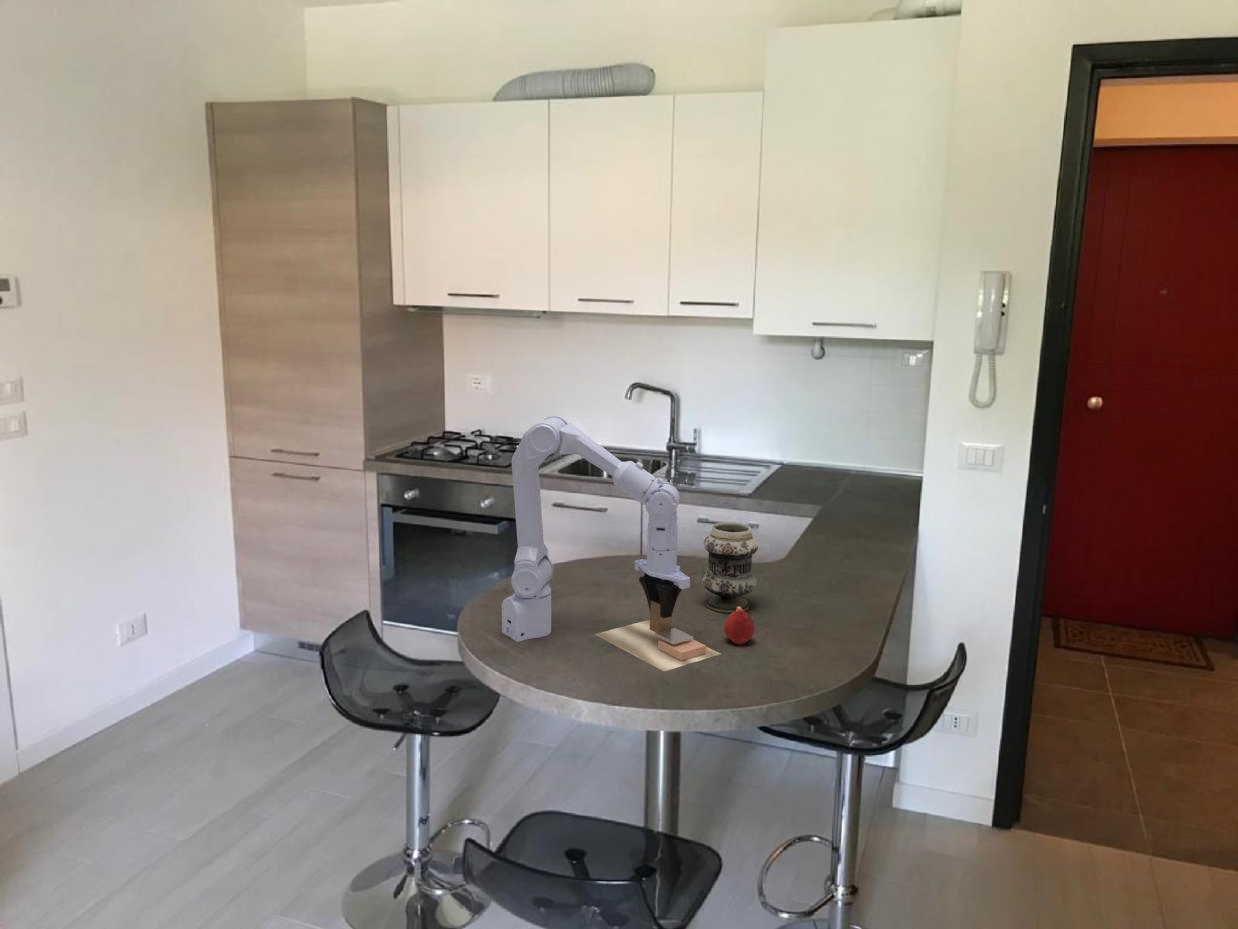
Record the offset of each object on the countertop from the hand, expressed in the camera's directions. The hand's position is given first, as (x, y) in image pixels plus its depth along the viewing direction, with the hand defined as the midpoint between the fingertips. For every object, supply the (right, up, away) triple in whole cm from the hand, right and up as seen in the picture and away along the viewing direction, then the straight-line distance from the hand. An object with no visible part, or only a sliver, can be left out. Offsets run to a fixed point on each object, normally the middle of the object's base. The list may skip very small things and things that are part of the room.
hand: (660, 614), depth 182 cm
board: (-1, -7, 0) cm, 7 cm away
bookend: (+2, -4, -1) cm, 4 cm away
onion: (+15, -7, +1) cm, 17 cm away
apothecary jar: (+16, -2, +24) cm, 29 cm away
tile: (+2, -5, -1) cm, 5 cm away
